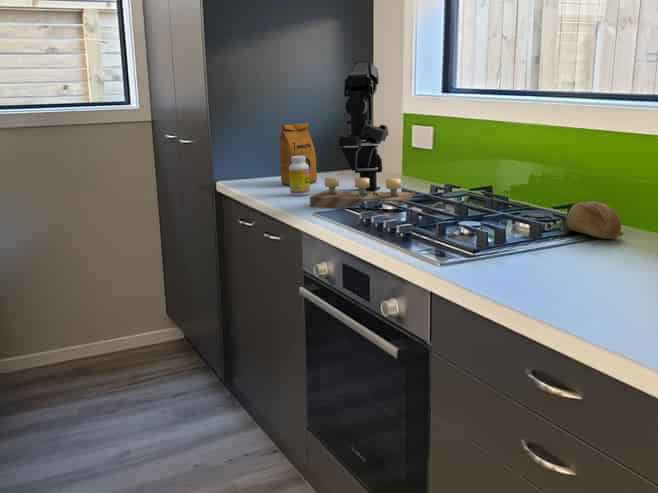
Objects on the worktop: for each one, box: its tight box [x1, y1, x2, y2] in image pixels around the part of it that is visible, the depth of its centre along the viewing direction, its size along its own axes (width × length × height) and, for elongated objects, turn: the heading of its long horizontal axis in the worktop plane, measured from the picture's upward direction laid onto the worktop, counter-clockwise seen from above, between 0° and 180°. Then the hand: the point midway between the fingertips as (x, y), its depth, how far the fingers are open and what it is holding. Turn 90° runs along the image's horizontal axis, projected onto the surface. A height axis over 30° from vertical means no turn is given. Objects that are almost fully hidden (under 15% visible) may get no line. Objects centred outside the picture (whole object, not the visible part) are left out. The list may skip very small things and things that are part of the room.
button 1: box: [324, 176, 340, 195], centre depth 214 cm, size 4×4×5 cm
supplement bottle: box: [289, 156, 311, 197], centre depth 231 cm, size 7×7×13 cm
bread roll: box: [565, 200, 622, 240], centre depth 163 cm, size 10×15×8 cm, turn 19°
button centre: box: [354, 177, 370, 196], centre depth 210 cm, size 4×4×5 cm
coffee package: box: [278, 122, 318, 186], centre depth 251 cm, size 10×12×22 cm
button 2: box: [385, 178, 402, 197], centre depth 206 cm, size 4×4×5 cm
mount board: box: [309, 189, 417, 209], centre depth 211 cm, size 30×12×3 cm, turn 67°
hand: (360, 169), depth 208 cm, fingers open, 9 cm apart
